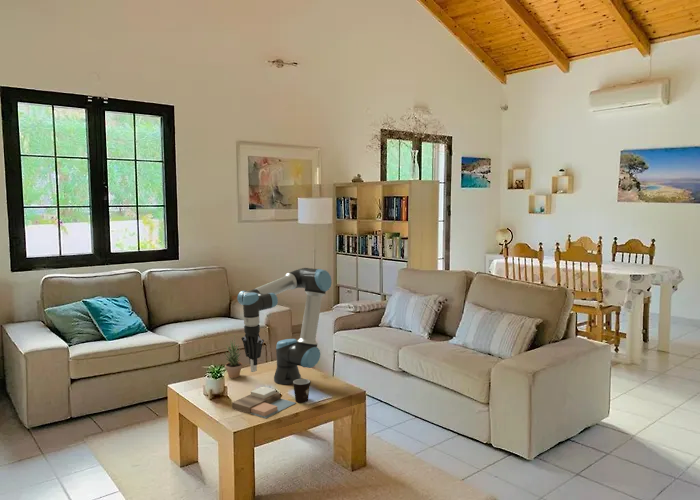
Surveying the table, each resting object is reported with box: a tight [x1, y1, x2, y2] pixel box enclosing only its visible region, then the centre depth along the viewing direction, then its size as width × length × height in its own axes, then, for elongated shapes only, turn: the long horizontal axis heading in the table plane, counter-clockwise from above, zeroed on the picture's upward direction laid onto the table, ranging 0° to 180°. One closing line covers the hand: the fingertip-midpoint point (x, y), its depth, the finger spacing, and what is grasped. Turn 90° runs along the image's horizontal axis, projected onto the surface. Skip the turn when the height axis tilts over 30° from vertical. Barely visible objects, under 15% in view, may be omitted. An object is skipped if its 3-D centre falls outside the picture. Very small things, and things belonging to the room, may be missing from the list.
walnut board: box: [231, 392, 281, 414], centre depth 273 cm, size 22×12×3 cm, turn 146°
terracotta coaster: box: [251, 402, 278, 416], centre depth 263 cm, size 9×9×2 cm
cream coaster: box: [250, 386, 277, 399], centre depth 278 cm, size 9×9×2 cm
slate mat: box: [250, 398, 297, 419], centre depth 267 cm, size 22×10×1 cm, turn 146°
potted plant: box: [224, 334, 243, 379], centre depth 313 cm, size 10×10×25 cm
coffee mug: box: [293, 378, 311, 404], centre depth 277 cm, size 12×9×10 cm
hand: (253, 371), depth 268 cm, fingers closed
